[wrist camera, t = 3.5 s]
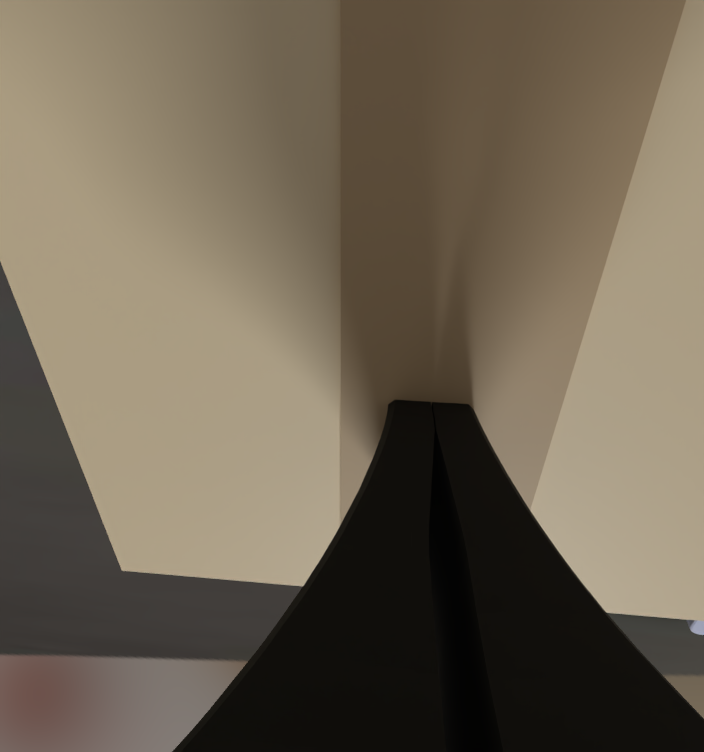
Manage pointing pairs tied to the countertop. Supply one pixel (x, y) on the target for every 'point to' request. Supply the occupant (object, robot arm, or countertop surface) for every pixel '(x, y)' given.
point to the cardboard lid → (365, 265)
